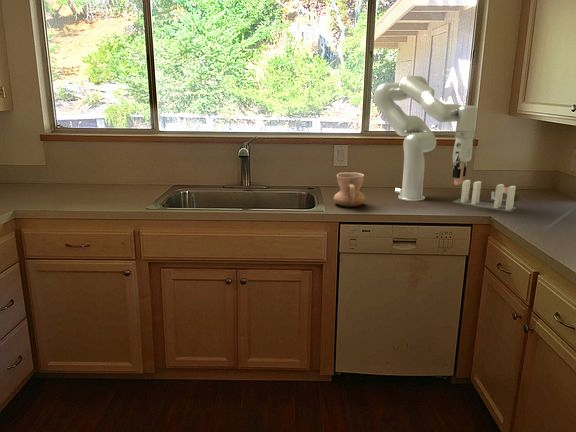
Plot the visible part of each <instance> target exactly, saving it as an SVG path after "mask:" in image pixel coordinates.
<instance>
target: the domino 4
mask: <svg viewBox="0 0 576 432" xmlns="http://www.w3.org/2000/svg"><path fill="white" fill-rule="evenodd" d="M504 187H505V184H504V183H503V184H502V183H499V184H497V185H496V186H495V190H496V192H495V191H494V192H495V200H493V201H494V202H493V204H494V208H499V207H501V205H503V203H502V196H503V189H504Z"/></svg>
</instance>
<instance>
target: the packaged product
mask: <svg viewBox="0 0 576 432" xmlns="http://www.w3.org/2000/svg"><path fill="white" fill-rule="evenodd" d="M508 187H509V186H504V189H503V196H502V201H503V202H506V200H507V193H508ZM495 192H496V189H495V191H491V196H490V198H491V199H490V200H493V201H494V200H495Z"/></svg>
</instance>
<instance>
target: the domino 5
mask: <svg viewBox="0 0 576 432" xmlns="http://www.w3.org/2000/svg"><path fill="white" fill-rule="evenodd" d="M507 187H508V193H507V200H506V201H505V206H506V207H505V210H510V209H512V208H513V207H514V203H515V202H514V201H515V195H516V188H517V186H516V185H511V186H507Z"/></svg>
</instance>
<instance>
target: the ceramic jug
mask: <svg viewBox="0 0 576 432" xmlns="http://www.w3.org/2000/svg"><path fill="white" fill-rule="evenodd" d="M364 178H365V175H364V174H363V173H360V172H339V173H337V174H336V179H337V180H336V181H337V183H338V187H339V188H340V190H339V191H338V192H336V194H334V197H333V201H334V203H335V204H337V205H339V206H342V207H347V208H354V207H359V206H361V205H364V204H365V203H366V196H365V194H364V193H362V192H361V191H360V190H361V187H362V185H363V183H364Z"/></svg>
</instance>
